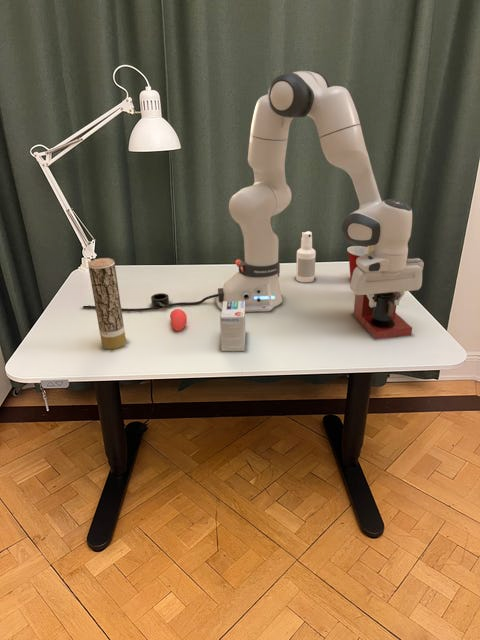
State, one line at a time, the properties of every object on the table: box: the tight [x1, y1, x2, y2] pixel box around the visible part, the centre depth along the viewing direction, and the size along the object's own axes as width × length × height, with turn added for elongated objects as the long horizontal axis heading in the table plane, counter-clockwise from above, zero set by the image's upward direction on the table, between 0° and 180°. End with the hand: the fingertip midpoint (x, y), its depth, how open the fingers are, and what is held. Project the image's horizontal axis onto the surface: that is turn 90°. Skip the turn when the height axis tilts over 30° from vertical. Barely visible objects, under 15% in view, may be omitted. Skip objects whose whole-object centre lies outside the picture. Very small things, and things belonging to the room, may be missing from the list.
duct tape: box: [150, 292, 170, 308], centre depth 162 cm, size 8×10×3 cm
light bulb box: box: [219, 301, 246, 352], centre depth 136 cm, size 11×7×11 cm, turn 178°
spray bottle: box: [295, 230, 317, 283], centre depth 177 cm, size 7×7×18 cm
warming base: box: [360, 294, 413, 340], centre depth 142 cm, size 11×10×11 cm
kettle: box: [372, 292, 395, 321], centre depth 139 cm, size 6×9×8 cm, turn 10°
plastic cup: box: [346, 245, 368, 280], centre depth 176 cm, size 11×11×12 cm
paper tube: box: [87, 257, 127, 350], centre depth 134 cm, size 7×7×25 cm
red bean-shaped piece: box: [169, 308, 188, 332], centre depth 148 cm, size 5×9×6 cm
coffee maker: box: [353, 292, 397, 324], centre depth 148 cm, size 12×6×14 cm, turn 100°
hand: (383, 305), depth 140 cm, fingers closed on kettle, 5 cm apart
